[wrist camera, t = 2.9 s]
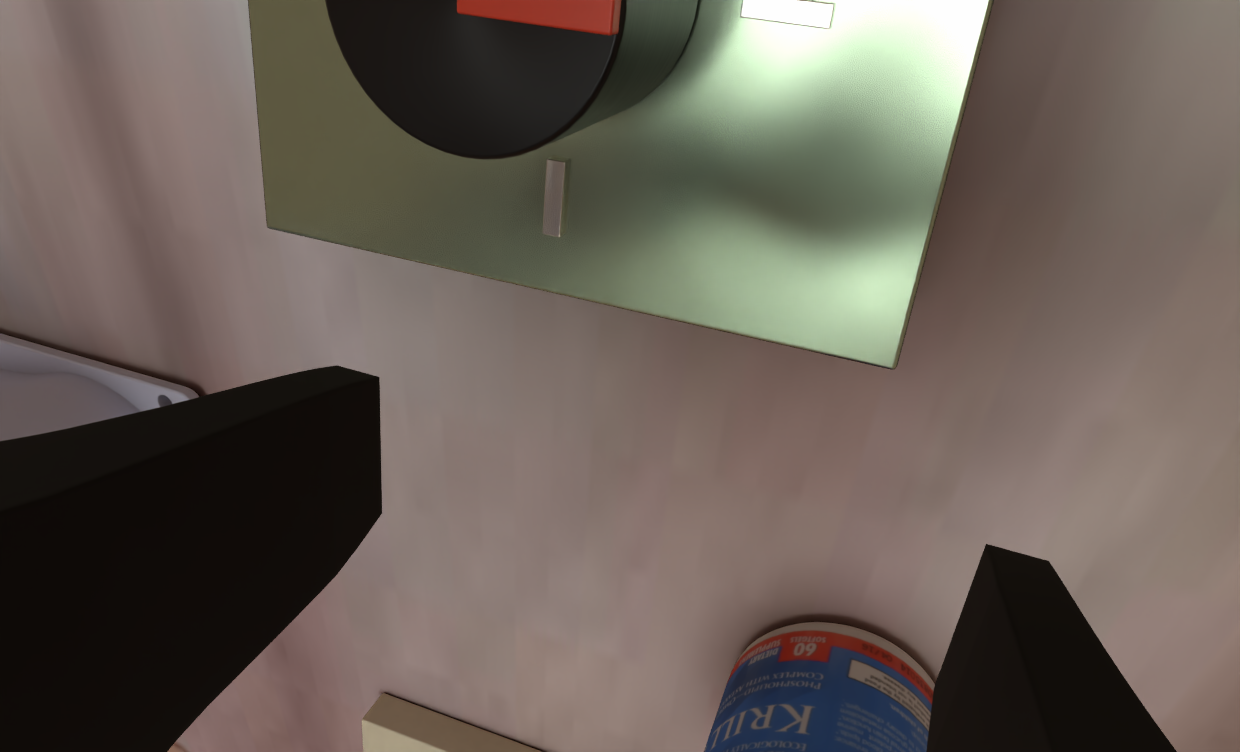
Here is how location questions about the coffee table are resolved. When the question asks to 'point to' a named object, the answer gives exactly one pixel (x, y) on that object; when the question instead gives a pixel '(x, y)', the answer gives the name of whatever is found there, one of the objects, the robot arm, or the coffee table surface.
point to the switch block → (425, 731)
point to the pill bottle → (823, 694)
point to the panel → (663, 171)
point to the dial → (507, 65)
